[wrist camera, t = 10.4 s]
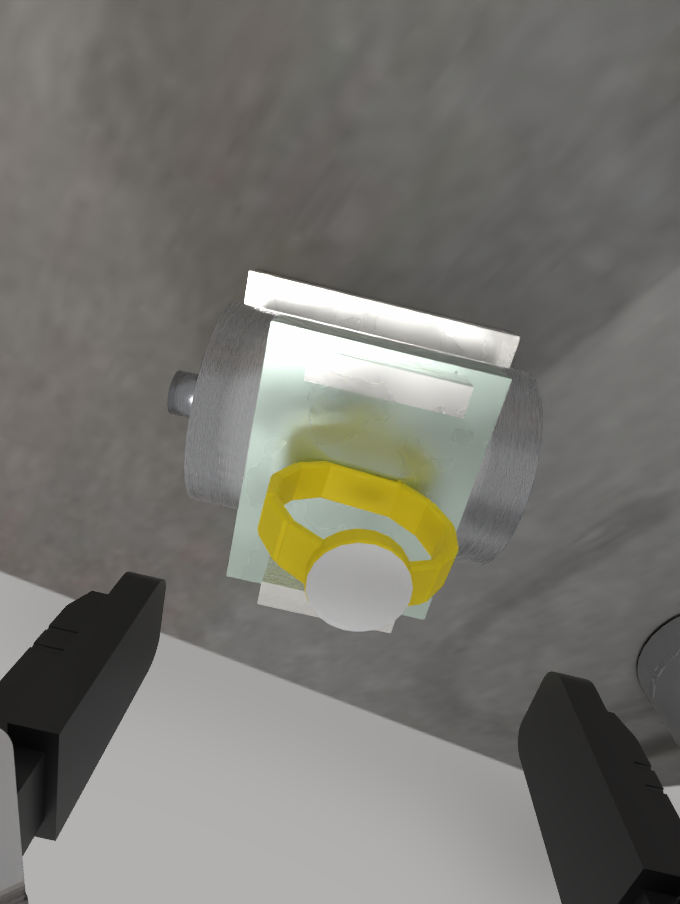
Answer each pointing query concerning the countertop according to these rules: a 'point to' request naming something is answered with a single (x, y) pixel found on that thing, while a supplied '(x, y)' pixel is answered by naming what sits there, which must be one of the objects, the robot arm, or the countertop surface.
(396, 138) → the countertop surface
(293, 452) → the motor
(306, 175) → the countertop surface
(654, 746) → the countertop surface
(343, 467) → the yellow watch
